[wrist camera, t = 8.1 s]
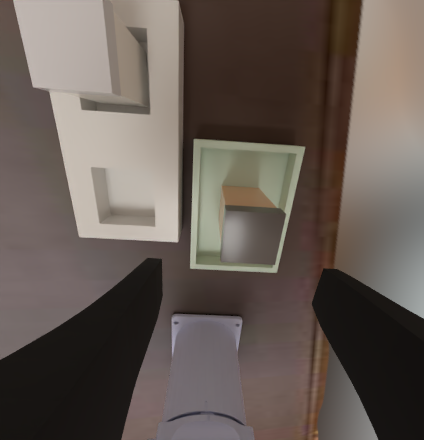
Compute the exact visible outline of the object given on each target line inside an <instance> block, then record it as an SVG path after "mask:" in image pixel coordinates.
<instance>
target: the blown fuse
mask: <svg viewBox="0 0 424 440" xmlns="http://www.w3.org/2000/svg"><path fill="white" fill-rule="evenodd" d="M285 218H286V213H285V212H284V211H283V210H282V209H281V208H277V207H276V206H275V205H274V204H273V203H272V202H271V201H270V199H269V198H268V197H267V196H266V195H265V194H264V193H263V192H262V191H261V190H260V188H253V187H237V186H222V185H221V196H220V208H219V219H218V221H219V232H220V242H221V247H220V261H221V262H226V263H246V264H265V265H275V263H276V258H277V254H278V249H279V245H280V240H281V236H282V231H283V227H284V222H285Z"/></svg>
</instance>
